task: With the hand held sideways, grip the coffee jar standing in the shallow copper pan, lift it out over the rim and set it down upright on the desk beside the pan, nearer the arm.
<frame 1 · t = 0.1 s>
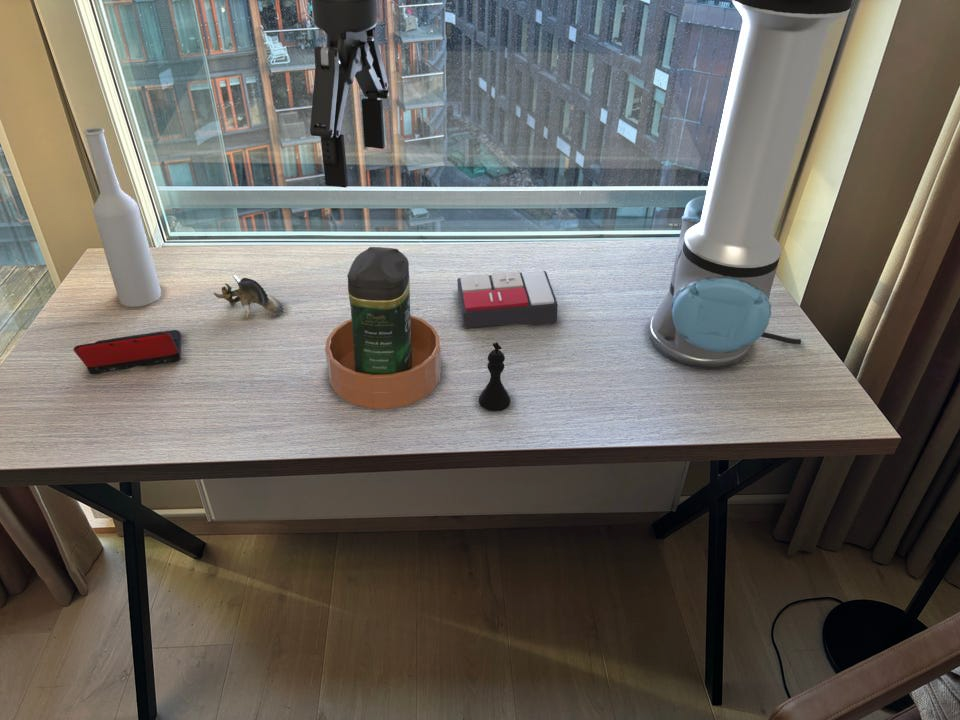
hand: (356, 165, 102), 28 cm above the table, tool pointing down, fingers open, 13 cm apart
handheld console: (136, 362, 113), on the table
pot: (385, 373, 112), on the table
bottle: (140, 297, 127), on the table
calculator: (505, 309, 127), on the table
chess piece: (494, 402, 107), on the table
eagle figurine: (254, 312, 124), on the table
coffee jar: (385, 372, 112), resting on pot
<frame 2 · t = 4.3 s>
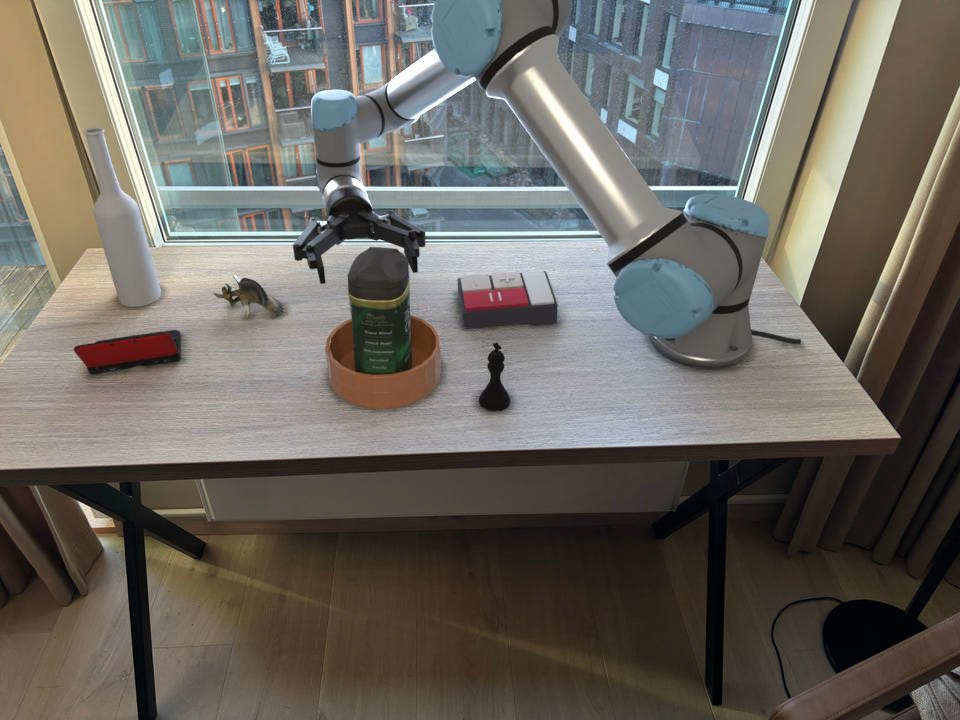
hand: (369, 270, 112), 12 cm above the table, tool horizontal, fingers open, 13 cm apart
nothing on the table moved.
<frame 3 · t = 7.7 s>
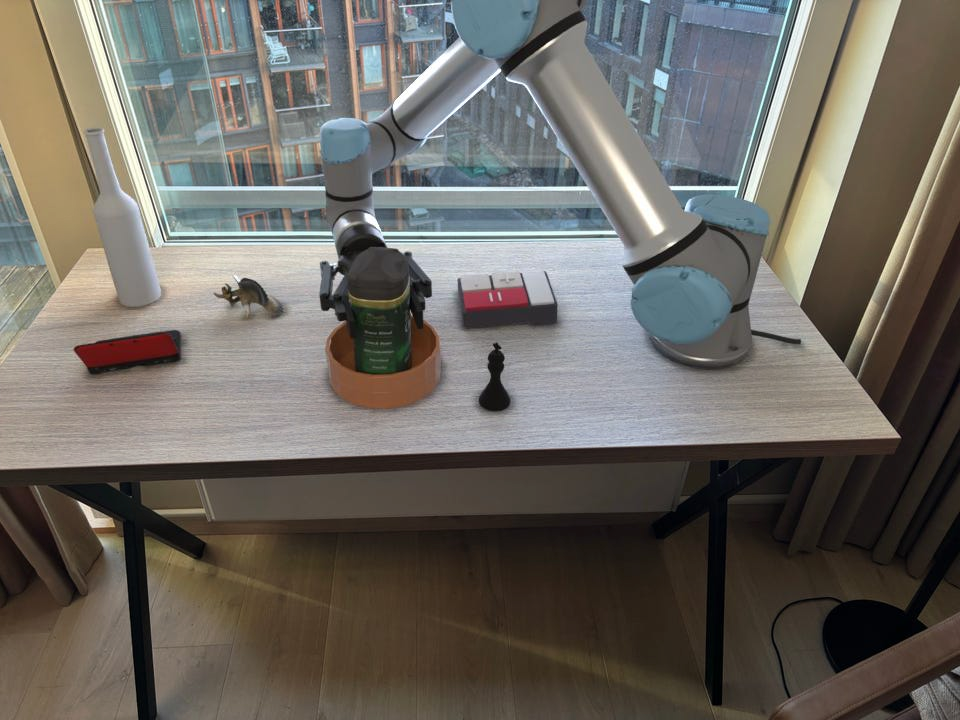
hand: (386, 324, 101), 11 cm above the table, tool horizontal, fingers closed on coffee jar, 8 cm apart
coffee jar: (385, 372, 112), resting on pot, touching gripper
everything else where it was.
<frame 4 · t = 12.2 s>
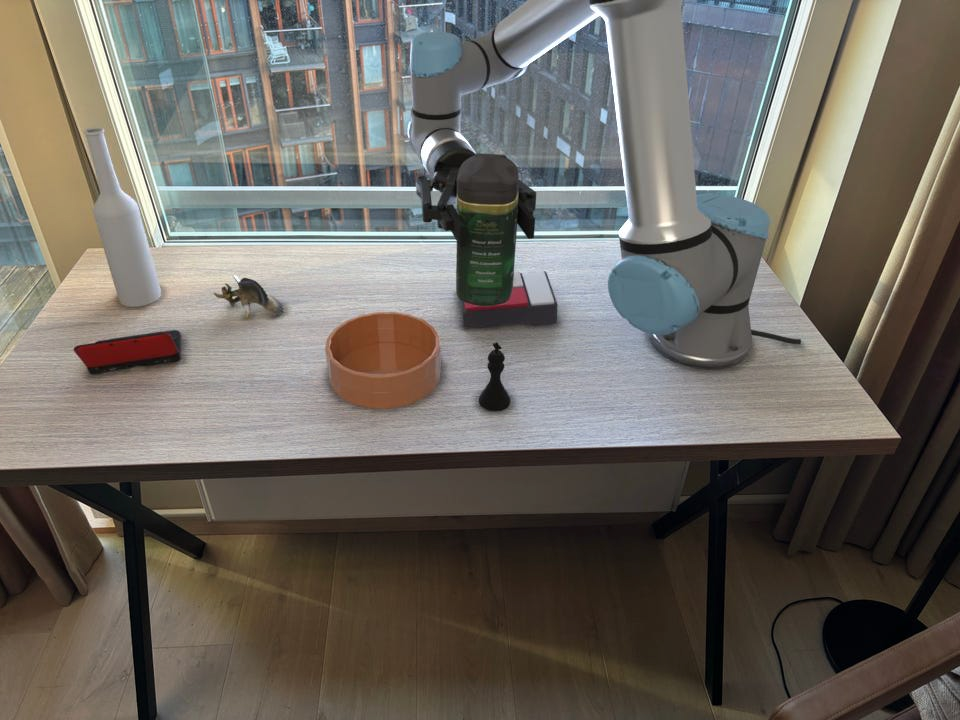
hand: (497, 232, 96), 24 cm above the table, tool horizontal, fingers closed on coffee jar, 8 cm apart
coffee jar: (485, 291, 107), point 12 cm above the table, touching gripper
everything else where it was.
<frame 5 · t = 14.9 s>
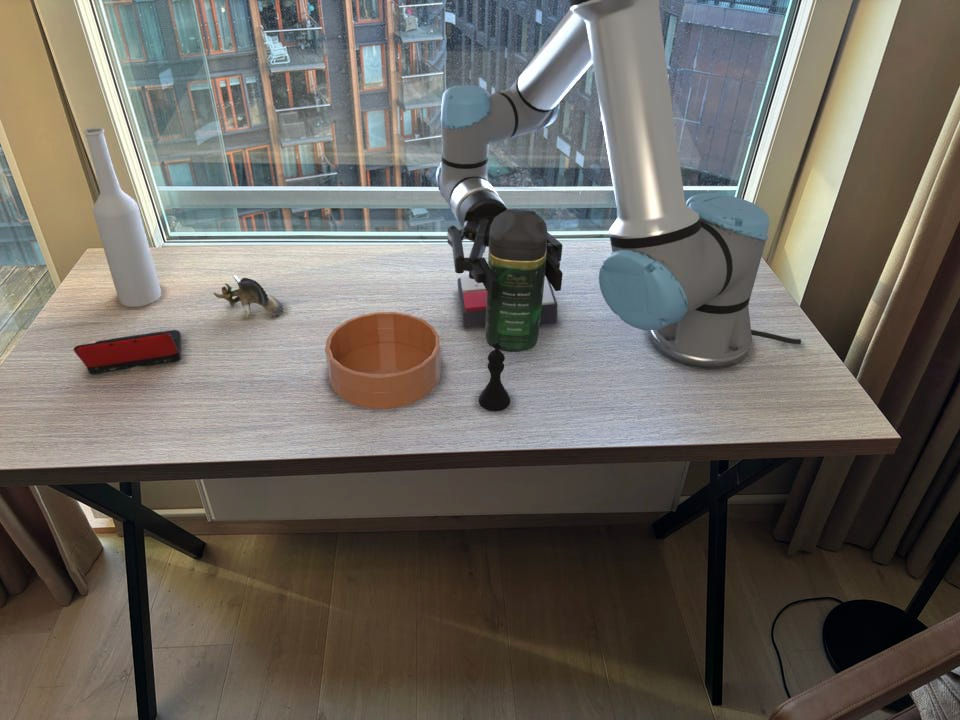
hand: (527, 286, 102), 16 cm above the table, tool horizontal, fingers closed on coffee jar, 8 cm apart
coffee jar: (512, 336, 112), point 4 cm above the table, touching gripper
everything else where it was.
when the fingers open (11 cm above the table, at t = 16.7 s): coffee jar stays where it is, on the table.
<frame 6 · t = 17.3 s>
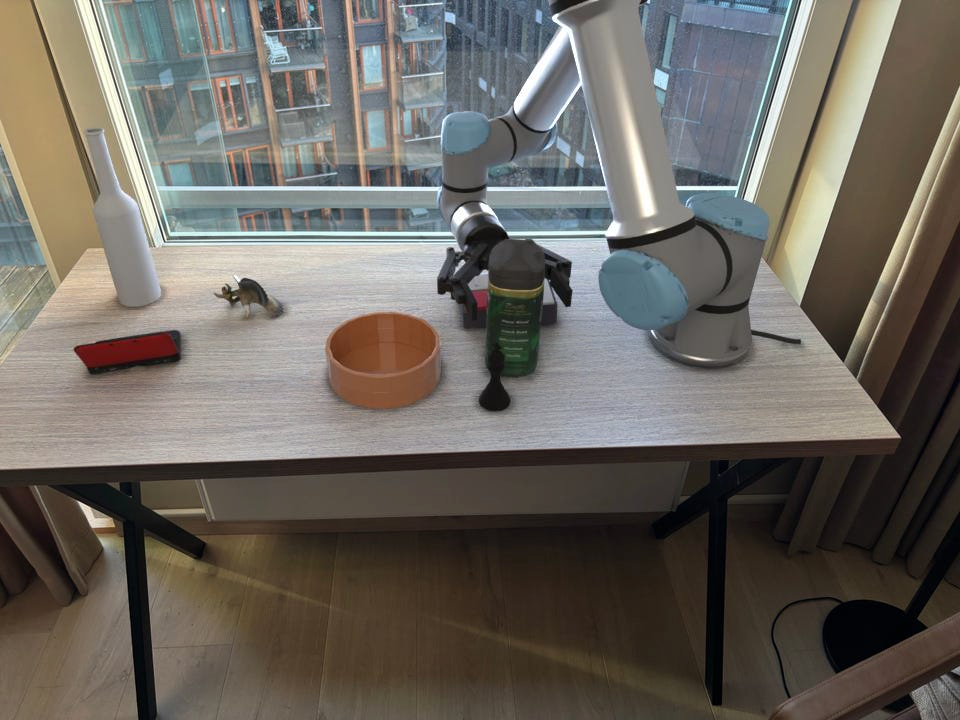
hand: (522, 305, 105), 12 cm above the table, tool horizontal, fingers open, 13 cm apart
coffee jar: (511, 361, 115), on the table
everything else where it was.
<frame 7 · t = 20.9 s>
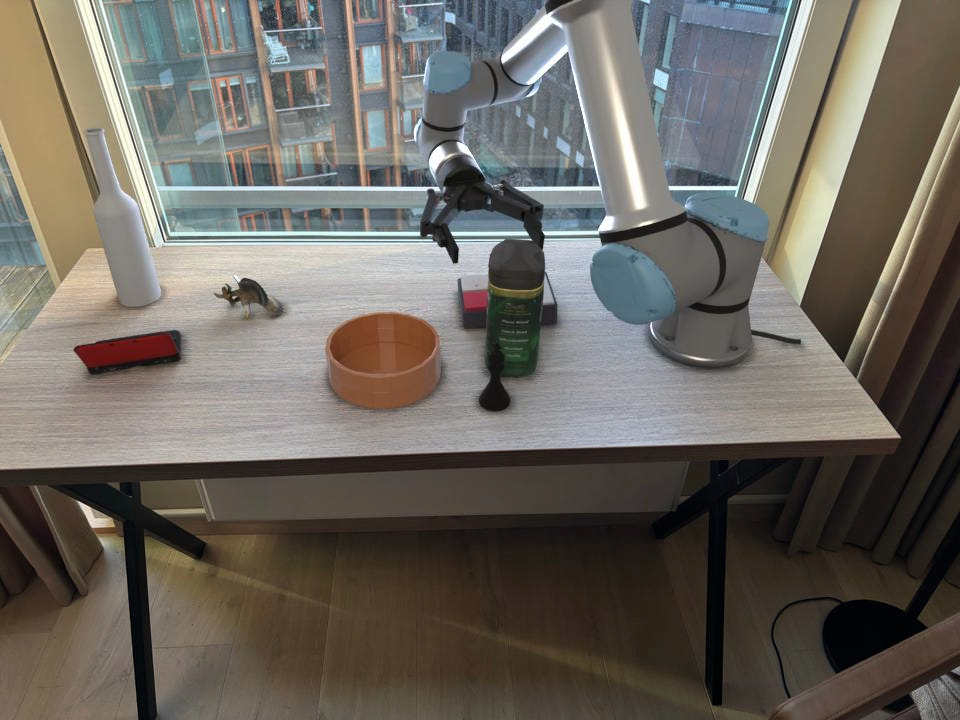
hand: (499, 249, 115), 13 cm above the table, tool horizontal, fingers open, 13 cm apart
nothing on the table moved.
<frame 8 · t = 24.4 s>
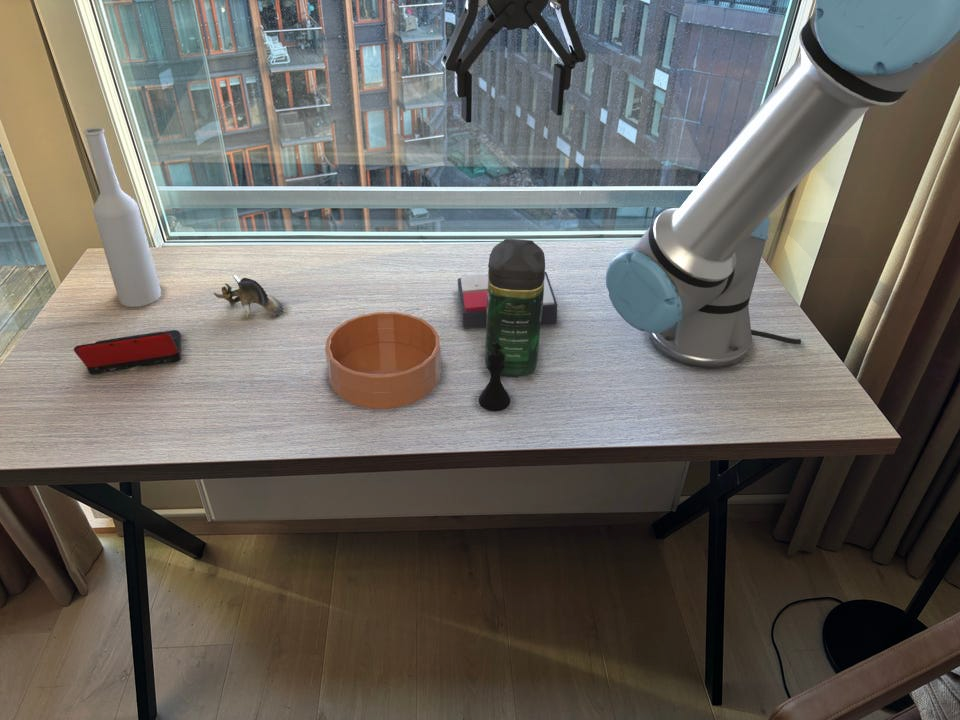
hand: (511, 116, 111), 31 cm above the table, tool pointing down, fingers open, 13 cm apart
nothing on the table moved.
at the end: coffee jar inside the target area (0.0 cm from its centre), on the table; coffee jar tilted 0°; coffee jar touching table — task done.
